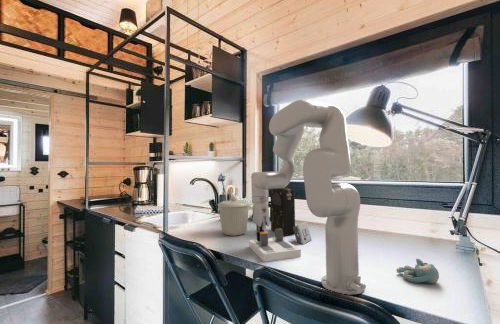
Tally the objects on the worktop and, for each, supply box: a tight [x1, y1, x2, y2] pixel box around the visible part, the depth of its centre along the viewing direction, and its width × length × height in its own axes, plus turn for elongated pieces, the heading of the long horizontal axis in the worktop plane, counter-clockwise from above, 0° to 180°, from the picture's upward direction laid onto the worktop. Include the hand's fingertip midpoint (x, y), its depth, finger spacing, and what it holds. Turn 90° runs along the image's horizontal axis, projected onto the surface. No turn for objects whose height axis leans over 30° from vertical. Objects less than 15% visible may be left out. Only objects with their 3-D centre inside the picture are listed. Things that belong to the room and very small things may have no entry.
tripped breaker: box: [260, 230, 269, 246], centre depth 112 cm, size 2×3×6 cm, turn 107°
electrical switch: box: [293, 221, 312, 245], centre depth 128 cm, size 9×5×9 cm, turn 141°
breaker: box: [274, 228, 284, 241], centre depth 119 cm, size 2×3×5 cm, turn 107°
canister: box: [217, 195, 251, 237], centre depth 145 cm, size 18×18×21 cm
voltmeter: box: [269, 187, 296, 237], centre depth 145 cm, size 16×9×25 cm, turn 25°
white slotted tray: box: [248, 237, 302, 263], centre depth 114 cm, size 20×16×3 cm
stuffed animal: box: [396, 258, 440, 284], centre depth 84 cm, size 11×7×12 cm
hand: (260, 240), depth 116 cm, fingers closed
